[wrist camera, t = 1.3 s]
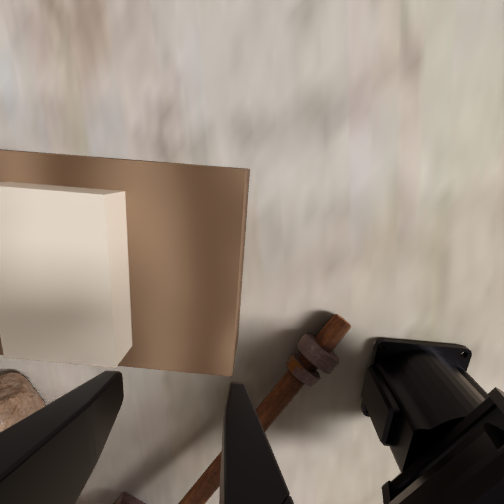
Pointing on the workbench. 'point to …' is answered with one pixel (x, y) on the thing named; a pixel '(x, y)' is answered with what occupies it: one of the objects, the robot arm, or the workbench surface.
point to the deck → (167, 251)
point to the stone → (17, 399)
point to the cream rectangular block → (64, 274)
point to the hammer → (276, 397)
